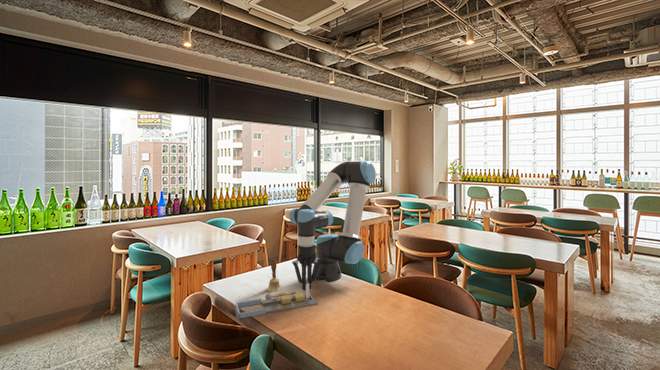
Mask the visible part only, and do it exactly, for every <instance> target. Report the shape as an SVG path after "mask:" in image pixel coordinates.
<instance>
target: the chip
mask: <svg viewBox="0 0 660 370" xmlns="http://www.w3.org/2000/svg"><path fill="white" fill-rule="evenodd" d="M290 296H291V295H284V296H279V298H280V303H281V305H287V304H291V297H290Z"/></svg>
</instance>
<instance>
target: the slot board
mask: <svg viewBox="0 0 660 370" xmlns="http://www.w3.org/2000/svg"><path fill="white" fill-rule="evenodd" d="M290 297H291V304H287V305H281V303H280V297H274V298H271V299H269V300H268V299H264V300H261V304H262V307H263V309H266V314H267V315H268V314H271V313H272V314H273V313H276V312H283V311H288V310H294V309H298V308H303V307H308V306H309V307H310V306H315V305H318V301H317V300H316V299H315V297H313V295H312V294H311V293H310V292H309V298H305V301H304V302H298V303H295V302H294V301H293V294H291V295H290Z"/></svg>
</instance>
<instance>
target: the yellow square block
mask: <svg viewBox="0 0 660 370" xmlns="http://www.w3.org/2000/svg"><path fill="white" fill-rule="evenodd" d="M292 295H293V301H294V302H295V303H298V302H304V301H305V296H304V293H303V292H296V294H292Z"/></svg>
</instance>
